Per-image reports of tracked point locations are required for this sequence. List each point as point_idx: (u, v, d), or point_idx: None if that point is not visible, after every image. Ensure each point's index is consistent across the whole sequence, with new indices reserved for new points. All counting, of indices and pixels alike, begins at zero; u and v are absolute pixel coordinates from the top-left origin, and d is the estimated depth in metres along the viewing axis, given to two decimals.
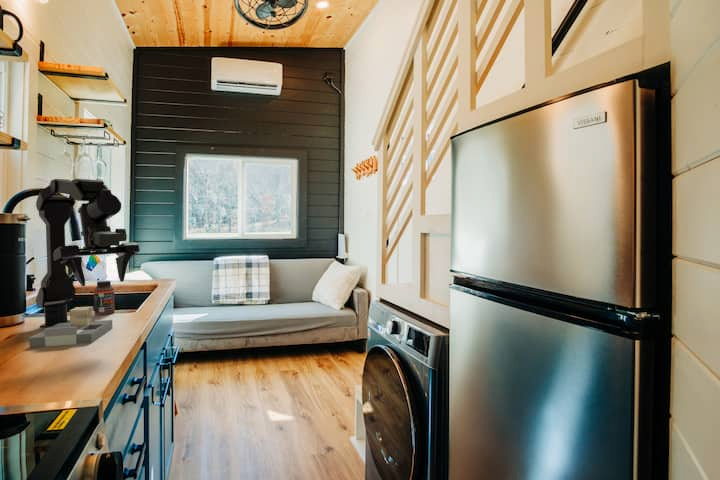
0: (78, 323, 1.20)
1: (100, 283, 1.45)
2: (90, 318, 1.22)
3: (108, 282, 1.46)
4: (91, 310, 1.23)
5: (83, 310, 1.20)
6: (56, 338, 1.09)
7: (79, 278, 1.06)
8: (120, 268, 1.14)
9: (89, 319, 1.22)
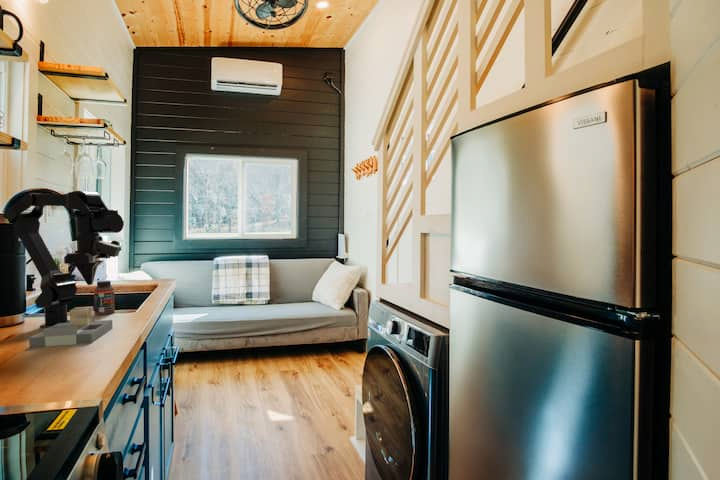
0: (78, 323, 1.20)
1: (100, 283, 1.45)
2: (90, 318, 1.22)
3: (108, 282, 1.46)
4: (91, 310, 1.23)
5: (83, 310, 1.20)
6: (56, 338, 1.09)
7: (89, 278, 1.27)
8: None
9: (89, 319, 1.22)
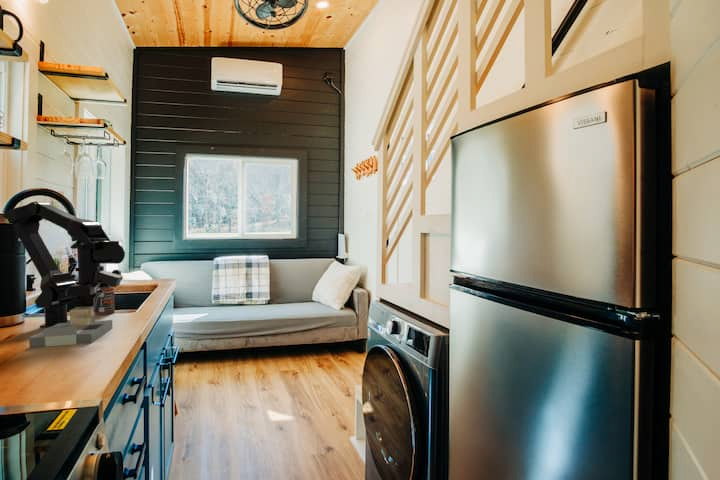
0: (78, 323, 1.20)
1: None
2: (90, 318, 1.22)
3: None
4: (91, 310, 1.23)
5: (83, 310, 1.20)
6: (56, 338, 1.09)
7: None
8: None
9: (89, 319, 1.22)
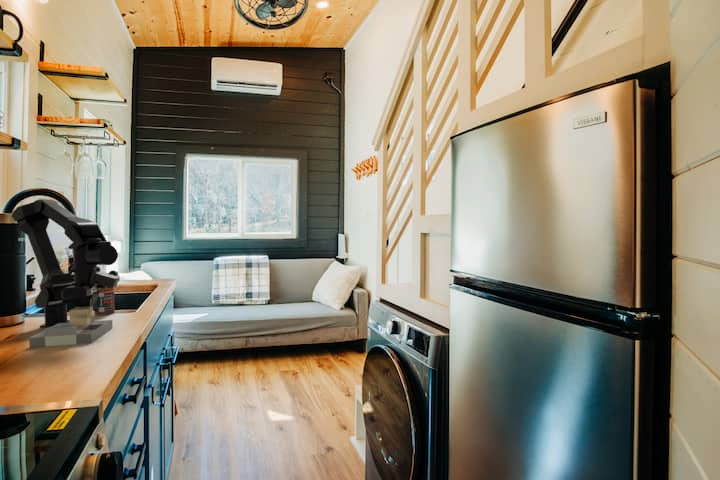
0: (78, 323, 1.20)
1: None
2: (90, 318, 1.22)
3: None
4: (91, 310, 1.23)
5: (83, 310, 1.20)
6: (56, 338, 1.09)
7: None
8: None
9: (89, 319, 1.22)
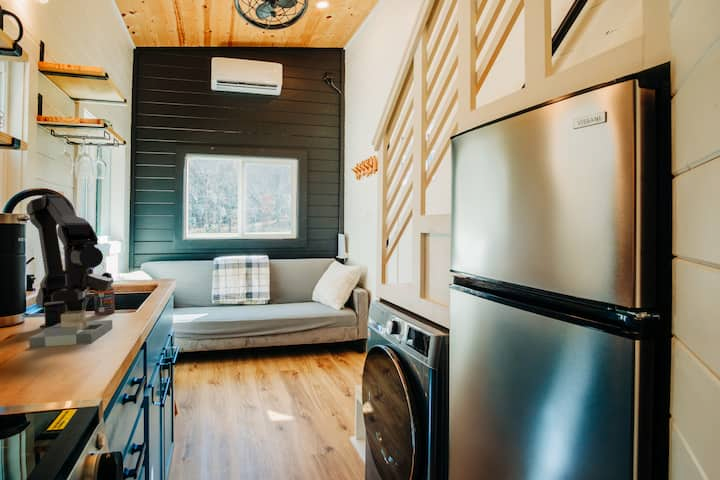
0: None
1: None
2: (82, 323, 1.17)
3: None
4: (83, 314, 1.18)
5: (75, 314, 1.14)
6: (56, 338, 1.09)
7: None
8: None
9: (82, 324, 1.16)
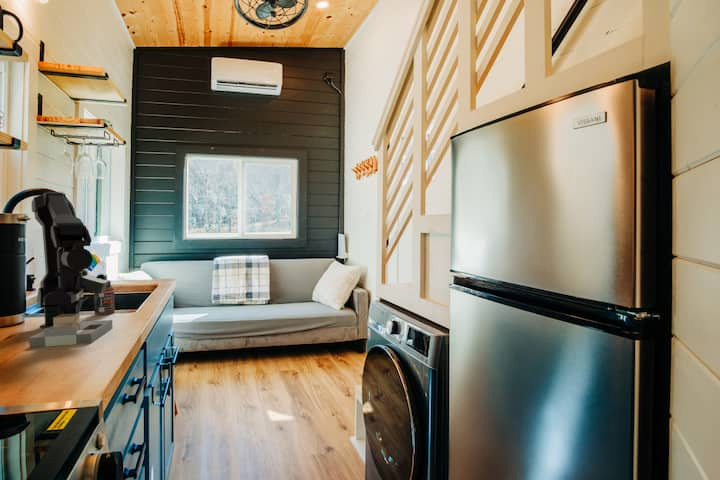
0: None
1: None
2: None
3: (108, 282, 1.46)
4: (77, 317, 1.14)
5: (68, 317, 1.10)
6: (56, 338, 1.09)
7: None
8: None
9: None
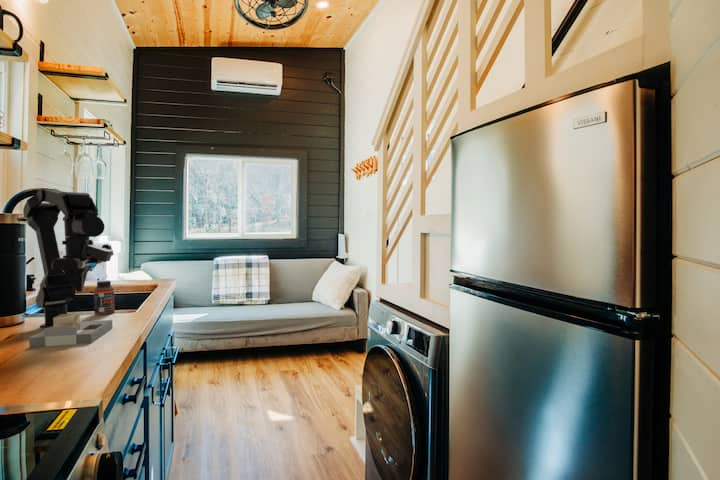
0: None
1: (100, 283, 1.45)
2: None
3: (108, 282, 1.46)
4: (77, 317, 1.14)
5: (68, 317, 1.10)
6: (56, 338, 1.09)
7: (78, 285, 1.20)
8: None
9: None
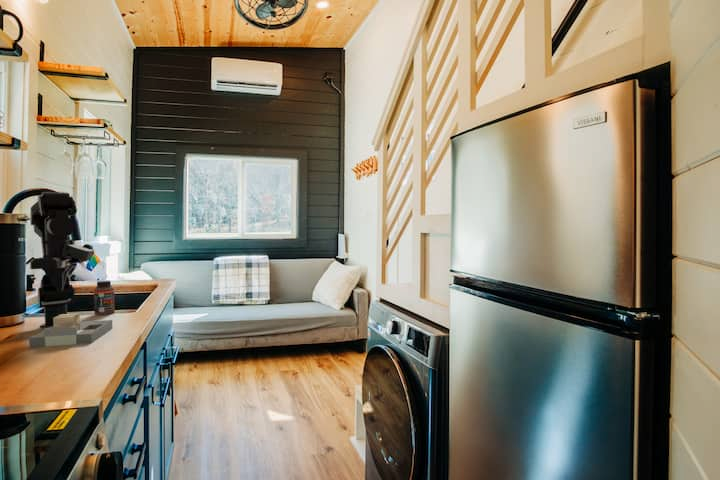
0: None
1: (100, 283, 1.45)
2: None
3: (108, 282, 1.46)
4: (77, 317, 1.14)
5: (68, 317, 1.10)
6: (56, 338, 1.09)
7: (59, 284, 1.21)
8: None
9: None
